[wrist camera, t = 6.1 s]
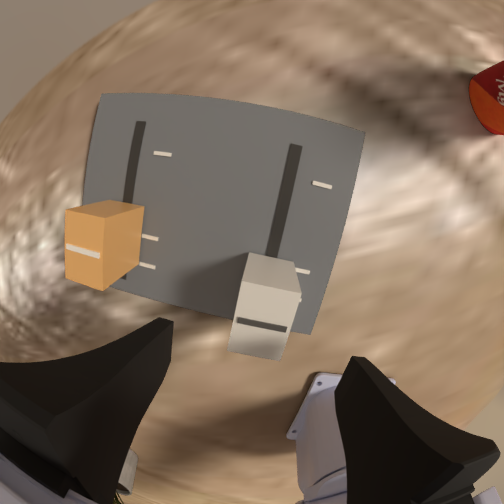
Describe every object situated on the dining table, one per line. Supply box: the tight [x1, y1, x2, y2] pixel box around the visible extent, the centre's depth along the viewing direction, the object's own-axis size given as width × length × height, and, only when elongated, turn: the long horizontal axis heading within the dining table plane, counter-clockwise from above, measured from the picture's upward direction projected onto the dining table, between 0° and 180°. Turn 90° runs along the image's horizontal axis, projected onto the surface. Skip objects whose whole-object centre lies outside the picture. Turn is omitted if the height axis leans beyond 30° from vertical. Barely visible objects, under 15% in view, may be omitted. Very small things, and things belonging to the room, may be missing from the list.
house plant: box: [113, 448, 138, 504], centre depth 20 cm, size 14×14×16 cm
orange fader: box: [65, 200, 145, 291], centre depth 15 cm, size 4×3×5 cm
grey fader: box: [227, 252, 302, 361], centre depth 15 cm, size 4×3×5 cm
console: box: [83, 93, 365, 335], centre depth 17 cm, size 14×18×1 cm
